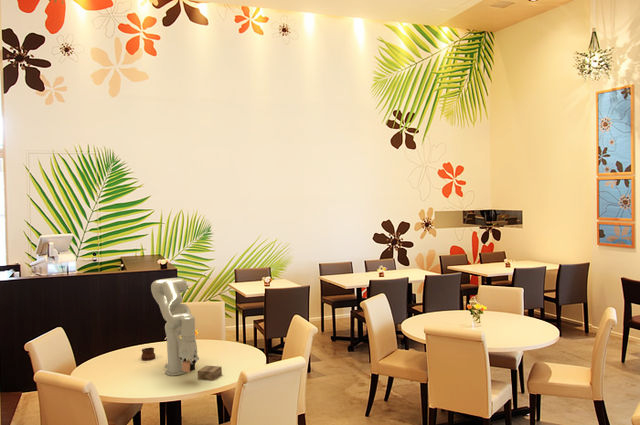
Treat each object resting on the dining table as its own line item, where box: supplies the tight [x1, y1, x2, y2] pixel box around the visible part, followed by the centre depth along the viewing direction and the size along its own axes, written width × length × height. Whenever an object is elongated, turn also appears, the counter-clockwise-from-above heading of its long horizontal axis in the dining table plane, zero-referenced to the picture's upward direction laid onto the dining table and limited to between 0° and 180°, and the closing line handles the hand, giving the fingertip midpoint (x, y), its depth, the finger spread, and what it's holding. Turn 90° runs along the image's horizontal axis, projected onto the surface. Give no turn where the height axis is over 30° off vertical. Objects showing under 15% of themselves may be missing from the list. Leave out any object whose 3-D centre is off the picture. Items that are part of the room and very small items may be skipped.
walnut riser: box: [197, 365, 223, 381], centre depth 302 cm, size 10×10×5 cm
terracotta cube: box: [182, 359, 192, 373], centre depth 296 cm, size 5×5×5 cm
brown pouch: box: [141, 347, 156, 364], centre depth 342 cm, size 18×18×7 cm
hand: (188, 369), depth 296 cm, fingers closed on terracotta cube, 5 cm apart
